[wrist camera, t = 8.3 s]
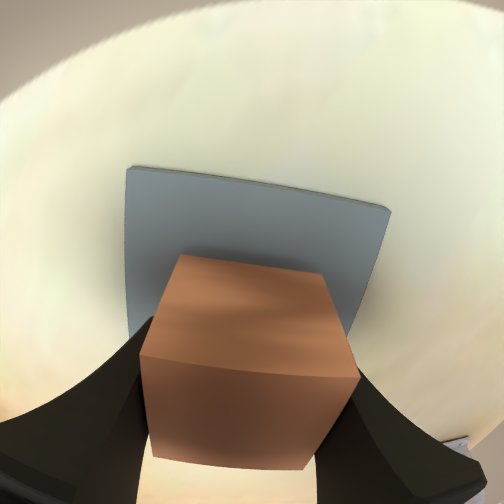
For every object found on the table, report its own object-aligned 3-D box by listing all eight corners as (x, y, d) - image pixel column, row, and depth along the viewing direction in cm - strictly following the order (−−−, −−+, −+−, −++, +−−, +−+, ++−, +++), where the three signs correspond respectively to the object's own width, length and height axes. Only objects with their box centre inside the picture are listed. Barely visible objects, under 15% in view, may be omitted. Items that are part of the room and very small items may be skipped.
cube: (321, 273, 11) (360, 377, 7) (289, 371, 13) (302, 470, 9) (180, 254, 11) (138, 354, 6) (175, 357, 13) (153, 456, 8)
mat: (385, 207, 12) (391, 211, 11) (320, 382, 16) (322, 390, 15) (132, 166, 11) (126, 169, 11) (135, 360, 15) (132, 367, 15)
